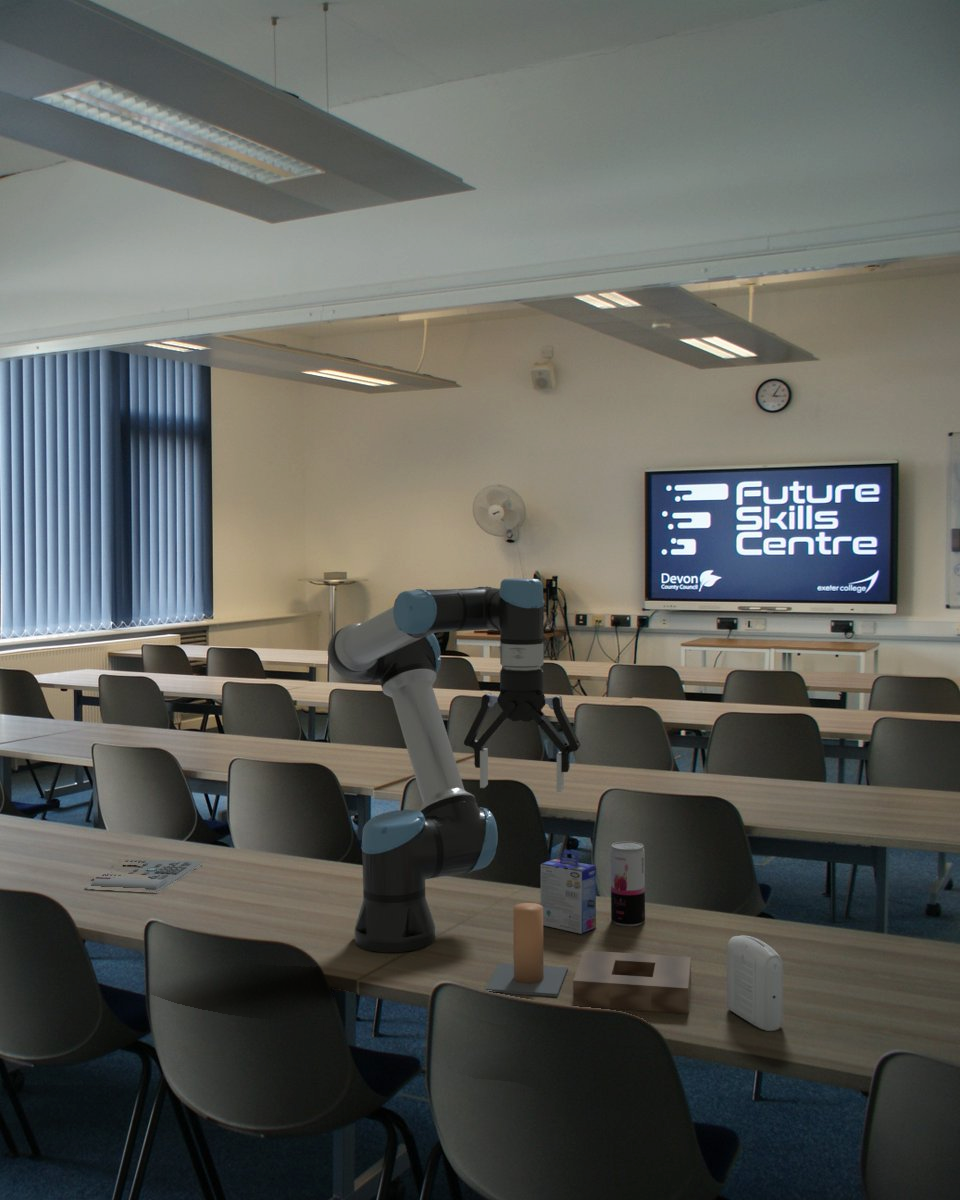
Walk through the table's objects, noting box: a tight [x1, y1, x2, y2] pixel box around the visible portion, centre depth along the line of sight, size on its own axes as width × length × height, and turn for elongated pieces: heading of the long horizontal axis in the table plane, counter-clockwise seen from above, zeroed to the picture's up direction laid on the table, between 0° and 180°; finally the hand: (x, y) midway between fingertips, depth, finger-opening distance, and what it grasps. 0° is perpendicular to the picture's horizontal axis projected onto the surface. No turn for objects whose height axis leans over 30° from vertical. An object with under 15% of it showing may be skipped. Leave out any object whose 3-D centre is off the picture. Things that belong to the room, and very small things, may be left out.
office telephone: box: [90, 859, 204, 892], centre depth 257 cm, size 23×3×20 cm
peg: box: [512, 902, 544, 983], centre depth 190 cm, size 5×5×12 cm
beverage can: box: [610, 840, 646, 927], centre depth 220 cm, size 6×6×15 cm
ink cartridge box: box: [539, 849, 597, 935], centre depth 218 cm, size 10×6×14 cm, turn 53°
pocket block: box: [572, 950, 692, 1015], centre depth 185 cm, size 18×14×4 cm
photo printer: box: [726, 934, 784, 1032], centre depth 174 cm, size 10×4×12 cm, turn 24°
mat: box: [484, 962, 569, 998], centre depth 190 cm, size 12×12×1 cm
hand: (521, 788), depth 197 cm, fingers open, 13 cm apart
